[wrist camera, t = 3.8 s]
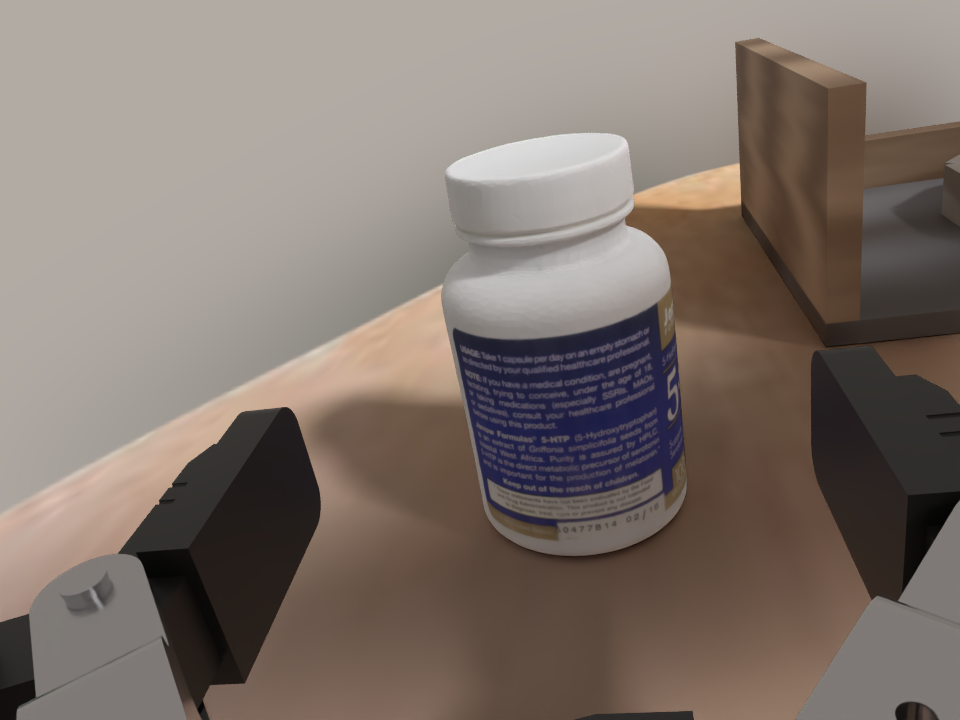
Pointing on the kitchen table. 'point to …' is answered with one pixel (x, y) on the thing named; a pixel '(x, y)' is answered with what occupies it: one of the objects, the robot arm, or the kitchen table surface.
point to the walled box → (848, 201)
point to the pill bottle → (564, 346)
